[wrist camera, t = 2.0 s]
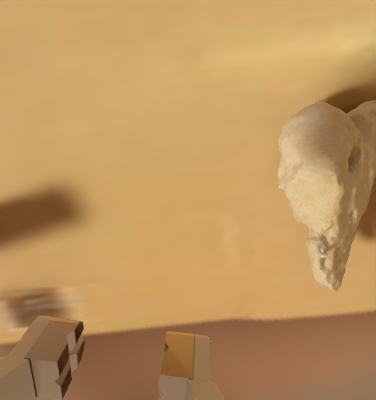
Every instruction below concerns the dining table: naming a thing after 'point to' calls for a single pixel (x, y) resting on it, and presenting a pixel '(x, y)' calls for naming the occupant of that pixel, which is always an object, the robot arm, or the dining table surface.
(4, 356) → the robot arm
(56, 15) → the dining table surface
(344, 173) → the beige rough lump
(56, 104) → the dining table surface
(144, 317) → the dining table surface
